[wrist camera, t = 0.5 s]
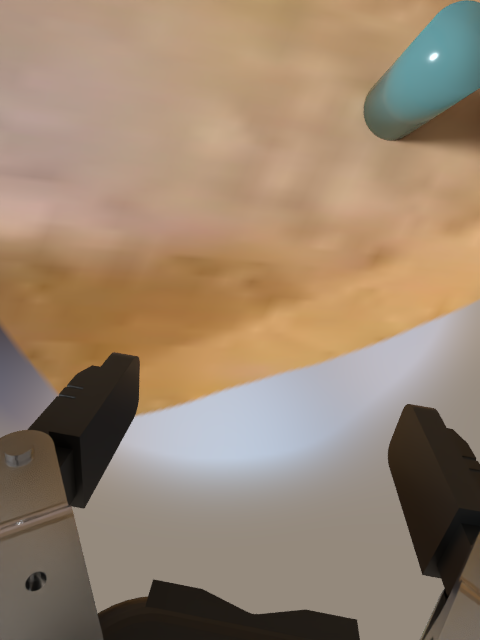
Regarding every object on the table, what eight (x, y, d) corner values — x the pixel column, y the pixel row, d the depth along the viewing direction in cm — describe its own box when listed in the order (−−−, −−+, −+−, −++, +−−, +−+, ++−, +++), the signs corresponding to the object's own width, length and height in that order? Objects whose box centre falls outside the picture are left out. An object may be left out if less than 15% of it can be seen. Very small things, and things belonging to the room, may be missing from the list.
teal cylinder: (364, 76, 33) (426, -1, 23) (423, 77, 33) (509, 1, 23) (362, 140, 34) (420, 92, 24) (419, 140, 34) (500, 93, 24)
